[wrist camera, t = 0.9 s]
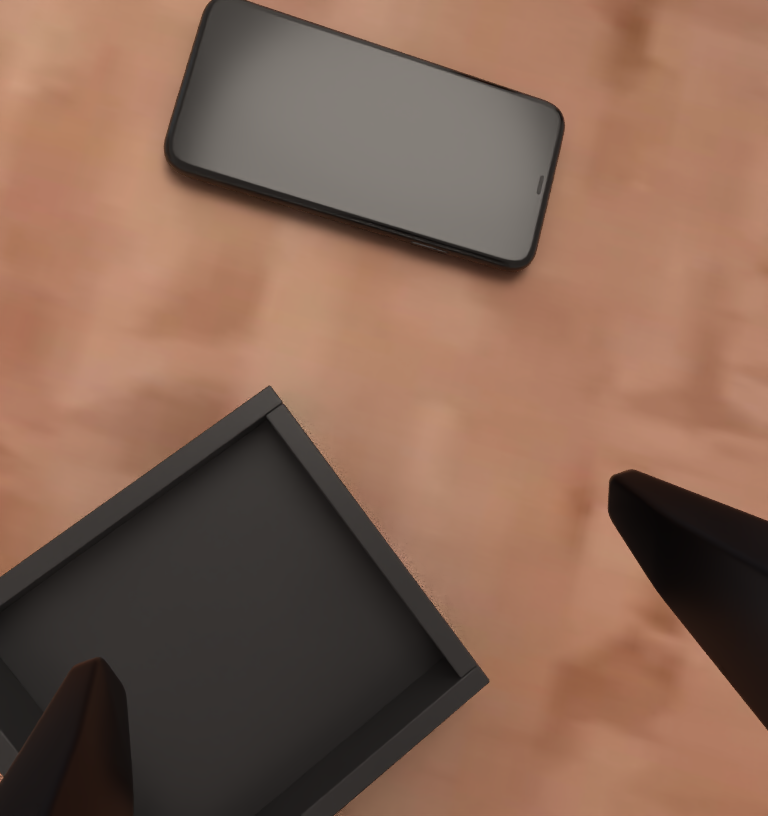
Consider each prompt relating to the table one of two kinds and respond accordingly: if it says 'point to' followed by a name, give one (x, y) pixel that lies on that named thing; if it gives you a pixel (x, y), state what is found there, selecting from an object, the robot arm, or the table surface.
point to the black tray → (236, 629)
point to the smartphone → (364, 135)
